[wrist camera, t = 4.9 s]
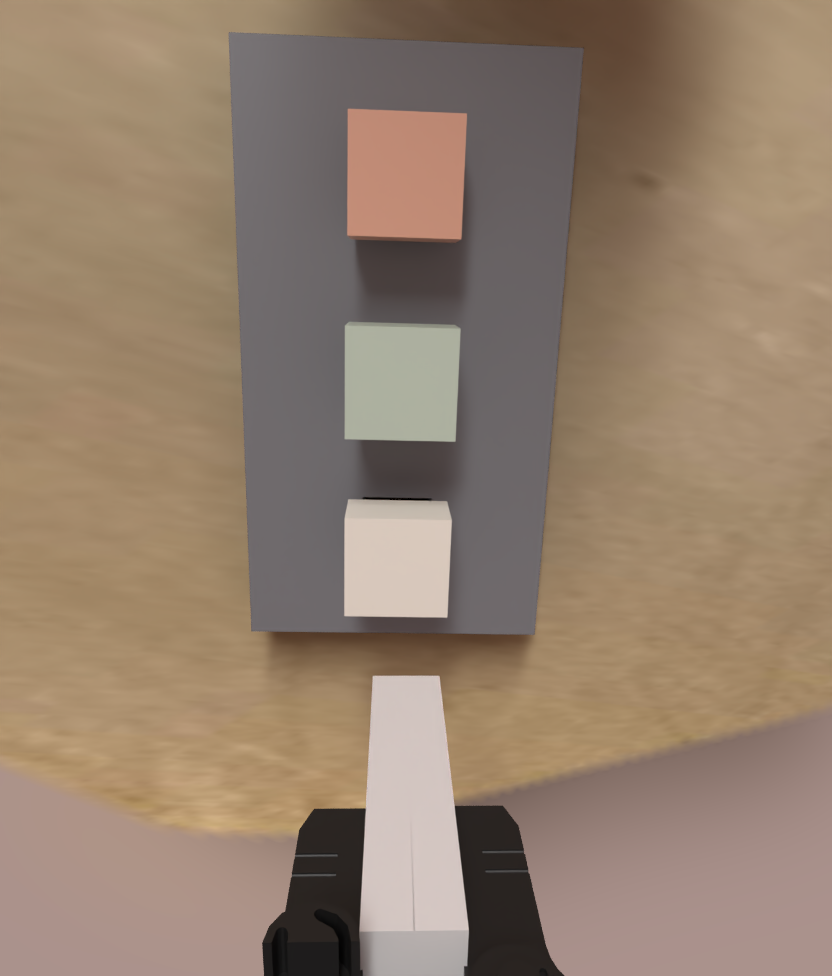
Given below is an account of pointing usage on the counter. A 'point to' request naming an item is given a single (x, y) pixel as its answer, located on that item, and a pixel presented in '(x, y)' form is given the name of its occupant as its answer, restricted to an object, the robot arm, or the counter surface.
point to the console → (398, 316)
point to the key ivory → (396, 558)
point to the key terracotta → (405, 175)
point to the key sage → (401, 381)
